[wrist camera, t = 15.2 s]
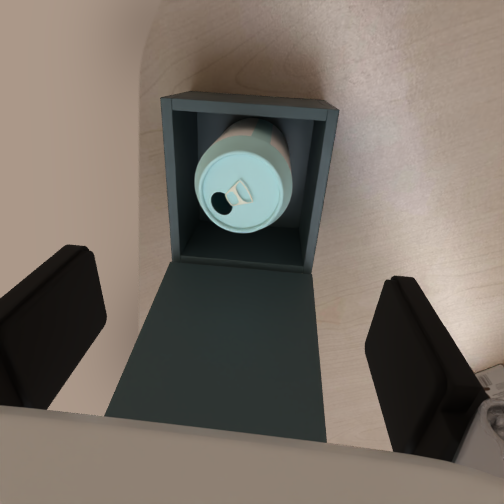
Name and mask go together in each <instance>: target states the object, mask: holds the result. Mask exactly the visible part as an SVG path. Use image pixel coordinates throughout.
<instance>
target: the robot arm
mask: <svg viewBox="0 0 504 504" xmlns="http://www.w3.org/2000/svg"><path fill="white" fill-rule="evenodd" d="M106 320H107V314H106V310H105V305H104V300H103V295H102V290H101V285H100V281H99V276H98V271H97V267H96V262H95V257H94V254H93V252H92V251H89V249H88V248H87V247H86V246H79V245H65V246H64V247H62V248H61V249H60V250H59V251H58V252H56V253H55V254H54V255H53V256H52V257H50V258H49V259H48V260H47V261H46V262H44V263H43V264H42V265H41V266H39V267H38V268H37V269H36V270H34V271H33V272H32V273H31V274H30V275H28V276H27V277H26V278H25V279H23V280H22V281H21V282H20V283H19V284H17V285H16V286H15V287H14V288H12V289H11V290H10V291H9V292H8V293H7V294H5V295H4V296H3V297H2V298H0V504H504V400H503V399H495V398H491V399H490V398H489V397H488V395H487V393H486V392H485V390H484V389H483V387H482V385H481V384H480V382H479V381H478V379H477V377H476V376H475V374H474V372H473V371H472V369H471V368H470V366H469V364H468V363H467V361H466V360H465V358H464V356H463V355H462V353H461V352H460V350H459V348H458V347H457V345H456V344H455V342H454V340H453V339H452V337H451V335H450V334H449V332H448V331H447V329H446V327H445V326H444V325H443V323H442V322H441V320H440V319H439V317H438V315H437V314H436V312H435V310H434V309H433V307H432V306H431V304H430V302H429V301H428V299H427V298H426V296H425V294H424V293H423V291H422V290H421V288H420V286H419V285H418V283H417V281H416V280H415V279H414V278H413V277H404V276H393V277H392V278H391V280H386V281H385V283H384V285H383V289H382V292H381V295H380V298H379V301H378V304H377V307H376V310H375V314H374V317H373V320H372V323H371V326H370V329H369V332H368V335H367V339H366V342H365V354H366V358H367V361H368V365H369V368H370V372H371V375H372V379H373V382H374V386H375V389H376V393H377V396H378V400H379V403H380V407H381V410H382V414H383V417H384V421H385V424H386V428H387V431H388V435H389V438H390V442H391V445H392V449H393V452H390V451H383V450H376V449H369V448H362V447H354V446H347V445H339V444H331V443H323V442H315V441H307V440H299V439H291V438H283V437H275V436H266V435H258V434H250V433H242V432H234V431H225V430H217V429H208V428H200V427H191V426H183V425H174V424H166V423H157V422H149V421H140V420H131V419H123V418H114V417H105V416H96V415H87V414H78V413H69V412H60V411H51V410H47V408H48V407H49V406H50V404H51V403H52V401H53V400H54V398H55V397H56V395H57V394H58V392H59V391H60V390H61V388H62V387H63V385H64V384H65V382H66V381H67V379H68V378H69V377H70V375H71V373H72V372H73V371H74V369H75V368H76V366H77V365H78V363H79V362H80V361H81V359H82V358H83V356H84V355H85V353H86V352H87V350H88V349H89V348H90V346H91V345H92V343H93V342H94V340H95V339H96V337H97V336H98V334H99V333H100V331H101V330H102V329H103V327H104V325H105V323H106Z"/></svg>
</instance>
